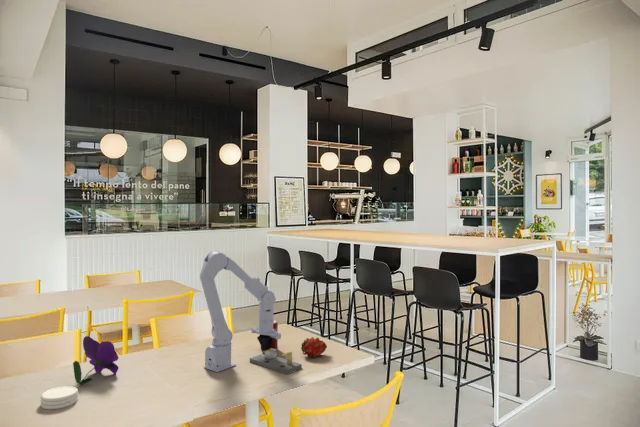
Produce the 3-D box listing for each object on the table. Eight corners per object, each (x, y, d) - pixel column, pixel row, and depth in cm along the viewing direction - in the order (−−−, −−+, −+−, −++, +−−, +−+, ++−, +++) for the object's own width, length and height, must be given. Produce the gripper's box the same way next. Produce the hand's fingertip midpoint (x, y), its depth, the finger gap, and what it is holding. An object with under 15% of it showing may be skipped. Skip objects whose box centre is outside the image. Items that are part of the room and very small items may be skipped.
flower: (104, 400, 150) (128, 369, 161) (88, 369, 143) (114, 339, 154) (69, 395, 154) (95, 365, 165) (52, 364, 147) (80, 335, 158)
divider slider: (266, 361, 170) (266, 352, 170) (260, 359, 172) (260, 350, 172) (276, 357, 175) (276, 348, 175) (271, 355, 177) (271, 346, 177)
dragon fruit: (298, 361, 180) (324, 361, 185) (306, 354, 174) (333, 354, 179) (295, 341, 185) (321, 342, 190) (304, 333, 179) (330, 334, 184)
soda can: (258, 348, 191) (258, 320, 191) (274, 346, 194) (274, 319, 194) (263, 353, 185) (263, 324, 185) (279, 351, 188) (280, 323, 188)
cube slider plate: (287, 374, 162) (287, 357, 162) (249, 362, 174) (249, 346, 174) (301, 368, 168) (301, 352, 168) (264, 356, 180) (264, 342, 180)
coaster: (84, 396, 141) (84, 385, 141) (67, 410, 131) (67, 398, 131) (52, 396, 141) (52, 385, 141) (33, 410, 131) (33, 398, 131)
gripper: (286, 320, 175) (285, 354, 175) (260, 315, 184) (260, 347, 184) (274, 324, 169) (273, 359, 169) (247, 318, 178) (247, 351, 178)
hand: (265, 353), depth 176 cm, fingers closed
